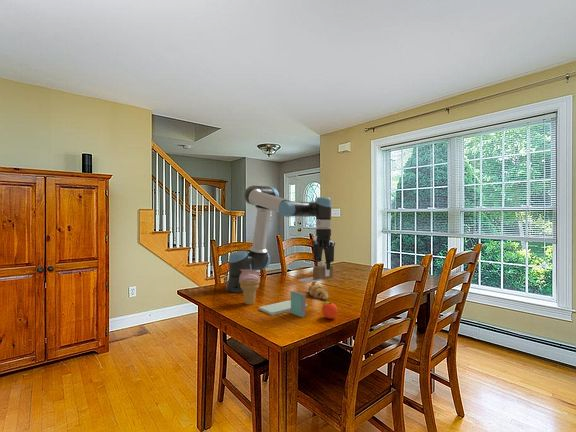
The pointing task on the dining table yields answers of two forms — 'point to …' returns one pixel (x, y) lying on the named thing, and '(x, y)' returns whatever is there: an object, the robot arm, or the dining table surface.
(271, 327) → the dining table surface
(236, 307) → the dining table surface
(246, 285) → the ice cream cone
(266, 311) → the board
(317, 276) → the brown grey long block
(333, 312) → the clementine
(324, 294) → the croissant
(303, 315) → the tile
